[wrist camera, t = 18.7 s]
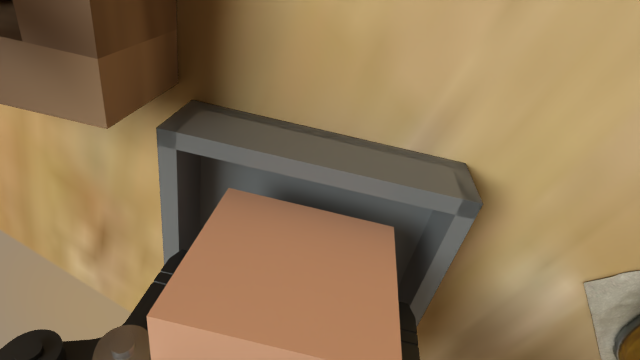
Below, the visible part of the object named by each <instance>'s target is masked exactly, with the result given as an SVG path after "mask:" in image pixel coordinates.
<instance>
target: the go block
mask: <svg viewBox="0 0 640 360" xmlns="http://www.w3.org/2000/svg"><path fill="white" fill-rule="evenodd" d="M176 84H178V48H177V0H0V104H3V105H7V106H12V107H16V108H20V109H25V110H29V111H33V112H37V113H42V114H46V115H50V116H54V117H59V118H63V119H67V120H71V121H76V122H80V123H84V124H89V125H93V126H97V127H101V128H106V129H108V128H109V127H111V126H112V125H114V124H116V123H117V122H119V121H120V120H122V119H123V118H125V117H126V116H128V115H129V114H131V113H133V112H134V111H136V110H137V109H139V108H140V107H142V106H143V105H145V104H147V103H148V102H150V101H151V100H153V99H154V98H156V97H157V96H159V95H161V94H162V93H164V92H165V91H167V90H168V89H170V88H171V87H173V86H175V85H176Z"/></svg>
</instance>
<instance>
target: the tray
mask: <svg viewBox="0 0 640 360" xmlns="http://www.w3.org/2000/svg"><path fill="white" fill-rule="evenodd" d="M156 129H157V147H158V164H159V181H160V199H161V216H162V234H163V251H164V265H165V264H166V262H167V261H168V259H169V258H170V257H172V256H173V255H175V254H176V253H177V252H179V251H180V250H182V249H183V250H189V249H190V247H191V246H192V244H193V243H194V241H195V239H196V238H197V236H198V235H199V233H200V232H201V230H202V229H203V227H204V225H205V224H206V222H207V221H208V219H209V218H210V216H211V214H212V213H213V211H214V210H215V208H216V207H217V205H218V204H219V202H220V200H221V199H222V197H223V196H224V194H225V193H226V191H227V189H228V188H232V189H236V190H240V191H244V192H248V193H253V194H257V195H261V196H265V197H270V198H274V199H278V200H282V201H286V202H291V203H295V204H299V205H303V206H307V207H312V208H316V209H320V210H324V211H329V212H333V213H337V214H341V215H345V216H350V217H354V218H358V219H362V220H366V221H371V222H375V223H379V224H383V225H388V226H392V227H394V238H395V254H396V270H397V286H398V301H400V302H404V303H408V304H409V306H410V308H411V310H412V312H413V314H414V316H415V319H416V327H417V325H418V324H419V322H420V320H421V318H422V316H423V314H424V312H425V311H426V309H427V307H428V305H429V303H430V301H431V300H432V298H433V296H434V294H435V292H436V290H437V288H438V287H439V285H440V283H441V281H442V279H443V277H444V275H445V274H446V272H447V270H448V268H449V266H450V264H451V262H452V261H453V259H454V257H455V255H456V253H457V251H458V249H459V248H460V246H461V244H462V242H463V240H464V238H465V236H466V235H467V233H468V231H469V229H470V227H471V225H472V223H473V222H474V220H475V218H476V216H477V214H478V212H479V210H480V209H481V207H482V205H483V203H482V200H481V198H480V196H479V194H478V191H477V189H476V187H475V184H474V182H473V180H472V177H471V175H470V173H469V170H468V168H467V166H466V163H461V162H457V161H453V160H448V159H444V158H440V157H435V156H431V155H427V154H423V153H418V152H414V151H410V150H405V149H401V148H397V147H392V146H388V145H384V144H380V143H375V142H371V141H367V140H362V139H358V138H354V137H349V136H345V135H341V134H337V133H332V132H328V131H324V130H319V129H315V128H311V127H307V126H302V125H298V124H294V123H289V122H285V121H281V120H276V119H272V118H268V117H264V116H259V115H255V114H251V113H246V112H242V111H238V110H233V109H229V108H225V107H221V106H216V105H212V104H208V103H203V102H199V101H195V100H191V101H190V102H189V103H187V104H186V105H185V106H183V107H182V108H181V109H180V110H178V111H177V112H176V113H175V114H173V115H172V116H171V117H169V118H168V119H167V120H166V121H164V122H163V123H162V124H160V125H159V126H158V127H157V128H156Z"/></svg>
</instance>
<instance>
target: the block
mask: <svg viewBox="0 0 640 360" xmlns="http://www.w3.org/2000/svg"><path fill="white" fill-rule="evenodd" d="M147 326H148V335H149V345H150V355H151V360H402V352H401V335H400V319H399V303H398V286H397V270H396V254H395V238H394V227H392V226H388V225H383V224H379V223H375V222H371V221H366V220H362V219H358V218H354V217H350V216H345V215H341V214H337V213H333V212H329V211H324V210H320V209H316V208H312V207H307V206H303V205H299V204H295V203H291V202H286V201H282V200H278V199H274V198H270V197H265V196H261V195H257V194H253V193H248V192H244V191H240V190H236V189H232V188H228V189H227V191H226V193H225V194H224V196H223V197H222V199H221V200H220V202H219V204H218V205H217V207H216V208H215V210H214V211H213V213H212V214H211V216H210V218H209V219H208V221H207V222H206V224H205V225H204V227H203V229H202V230H201V232H200V233H199V235H198V236H197V238H196V239H195V241H194V243H193V244H192V246H191V247H190V249H189V250H188V252H187V254H186V255H185V257H184V258H183V260H182V261H181V263H180V264H179V266H178V268H177V269H176V271H175V272H174V274H173V275H172V277H171V279H170V280H169V282H168V283H167V285H166V286H165V288H164V289H163V291H162V293H161V294H160V296H159V297H158V299H157V300H156V302H155V304H154V305H153V307H152V308H151V310H150V311H149V313H148V314H147Z"/></svg>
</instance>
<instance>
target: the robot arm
mask: <svg viewBox="0 0 640 360" xmlns="http://www.w3.org/2000/svg"><path fill="white" fill-rule="evenodd" d="M187 252H188V250H183V249H182V250H180V251H179V252H177V253H176V254H175V255H173V256H172V257H170V258H169V259H168V261H167V262H166V264H165V265H164V266H163V268H162V269H161V272H160V273H159V274H158V275H157V277H156V278H155V280H154V282H153V283H152V284H151V285H150V287H149V288H148V290H147V291H146V293H145V294H144V296H143V297H142V299H141V300H140V302H139V303H138V305H137V306H136V307H135V309H134V310H133V312H132V313H131V315H130V316H129V318H128V319H127V320H126V322H125V323H124V324H123V325H122V326H120V327H117V328H115V329H113V330H111V331H109V332H108V333H106V334H105V335H104V336H103V337H101V338H97V339H92V340H79V341H66V342H62V340H61V338H60V336H59V335H58V334H57V333H55V332H54V331H51V330H34V331H30V332H27V333H24V334H22V335H20V336H18V337H16V338H15V339H13V340H12V341H10V342H9V343H8V344H7V345H5V346H4V347H3V348H1V349H0V360H151V355H150V345H149V335H148V326H147V314H148V313H149V311H150V310H151V308H152V307H153V305H154V304H155V302H156V300H157V299H158V297H159V296H160V294H161V293H162V291H163V289H164V288H165V286H166V285H167V283H168V282H169V280H170V279H171V277H172V275H173V274H174V272H175V271H176V269H177V268H178V266H179V264H180V263H181V261H182V260H183V258H184V257H185V255H186V254H187ZM398 303H399V319H400V335H401V352H402V360H420V357H419V348H418V338H417V335H416V334H417V329H416V319H415V316H414V314H413V312H412V310H411V308H410V306H409V304H408V303H404V302H400V301H398Z"/></svg>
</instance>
